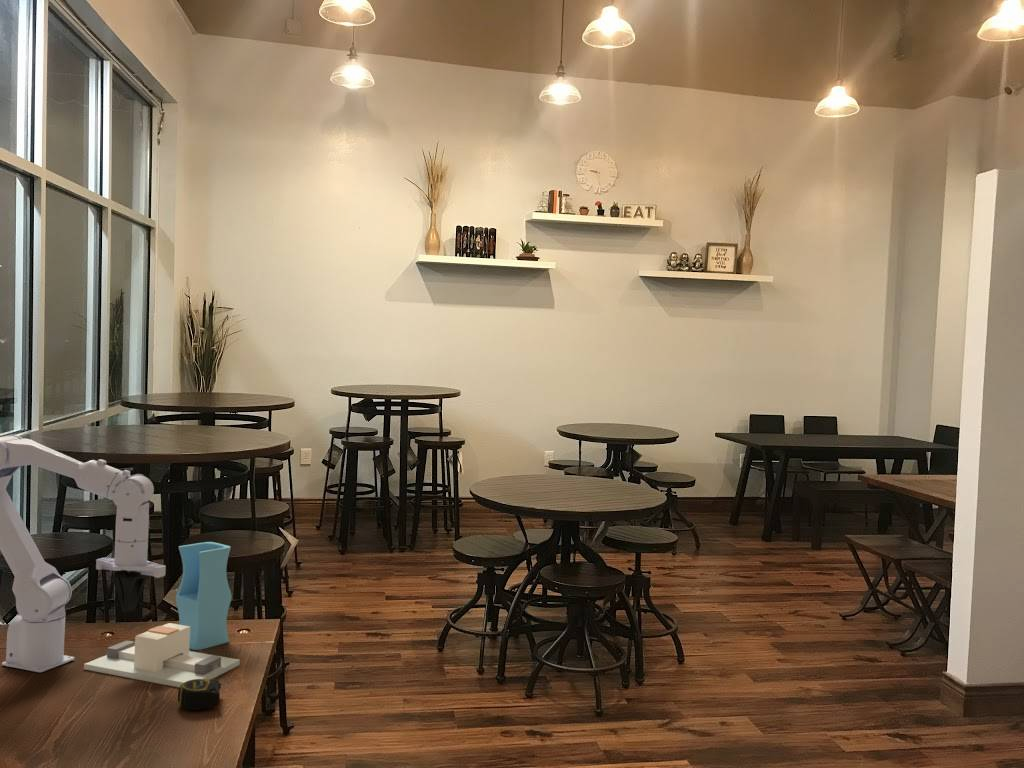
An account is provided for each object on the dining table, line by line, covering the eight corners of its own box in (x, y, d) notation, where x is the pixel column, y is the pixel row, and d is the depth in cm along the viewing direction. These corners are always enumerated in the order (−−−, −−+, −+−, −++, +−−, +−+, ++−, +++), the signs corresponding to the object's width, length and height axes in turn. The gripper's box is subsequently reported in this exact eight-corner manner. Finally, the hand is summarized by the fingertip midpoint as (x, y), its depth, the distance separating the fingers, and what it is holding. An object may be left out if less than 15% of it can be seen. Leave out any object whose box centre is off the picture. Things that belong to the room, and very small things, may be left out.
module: (133, 668, 154) (135, 634, 154) (167, 653, 162) (169, 621, 162) (156, 672, 152) (157, 638, 152) (188, 657, 161) (190, 624, 161)
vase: (173, 642, 172) (178, 546, 172) (206, 633, 178) (210, 541, 178) (196, 650, 167) (201, 552, 167) (229, 641, 174) (234, 546, 174)
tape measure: (219, 712, 139) (220, 690, 139) (175, 715, 137) (176, 693, 137) (220, 697, 145) (221, 675, 145) (178, 699, 143) (179, 678, 143)
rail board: (83, 669, 154) (84, 654, 154) (138, 647, 168) (139, 633, 168) (191, 689, 147) (192, 674, 147) (239, 664, 161) (240, 650, 161)
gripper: (84, 539, 156) (81, 611, 156) (147, 547, 152) (144, 621, 152) (113, 533, 163) (110, 601, 163) (174, 540, 158) (171, 611, 158)
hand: (128, 610), depth 158 cm, fingers closed
